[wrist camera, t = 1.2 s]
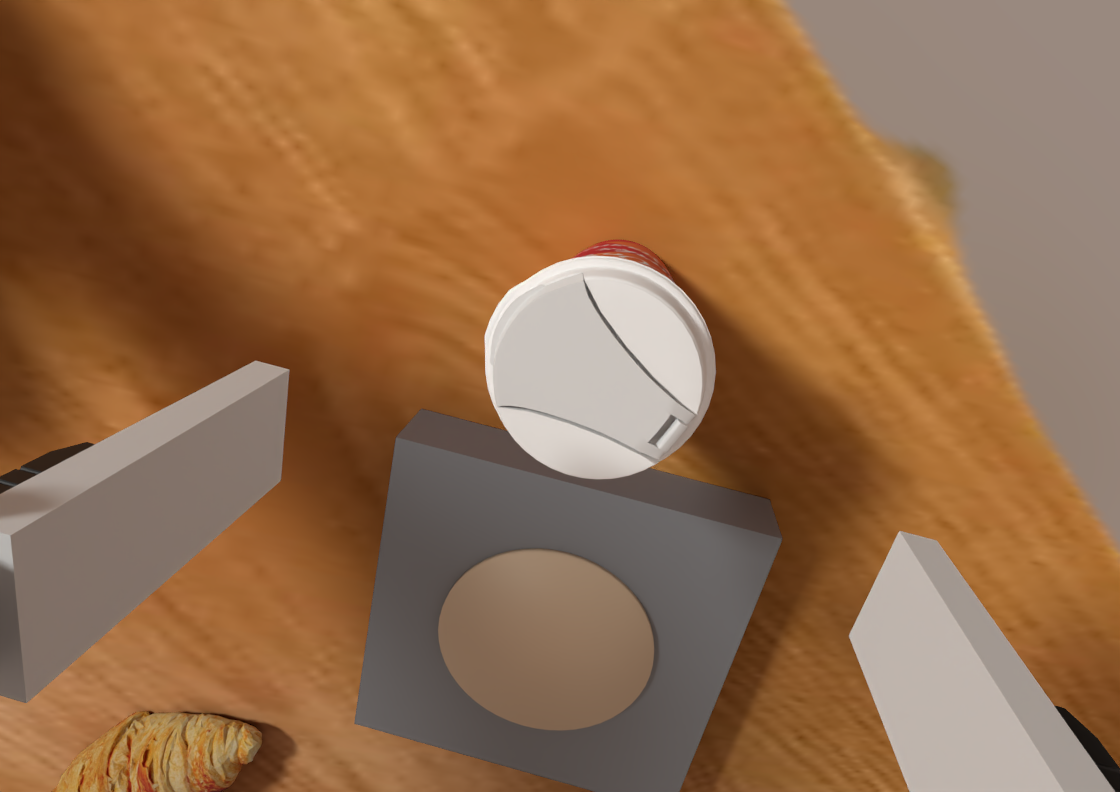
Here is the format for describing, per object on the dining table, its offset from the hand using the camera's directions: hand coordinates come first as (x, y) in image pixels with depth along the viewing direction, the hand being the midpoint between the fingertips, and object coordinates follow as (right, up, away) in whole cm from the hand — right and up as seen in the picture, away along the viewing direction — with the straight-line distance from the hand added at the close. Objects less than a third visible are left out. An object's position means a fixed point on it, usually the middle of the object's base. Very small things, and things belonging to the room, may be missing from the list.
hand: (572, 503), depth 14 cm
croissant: (-30, -25, +37) cm, 54 cm away
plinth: (-1, -10, +27) cm, 29 cm away
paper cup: (+3, +8, +20) cm, 22 cm away
